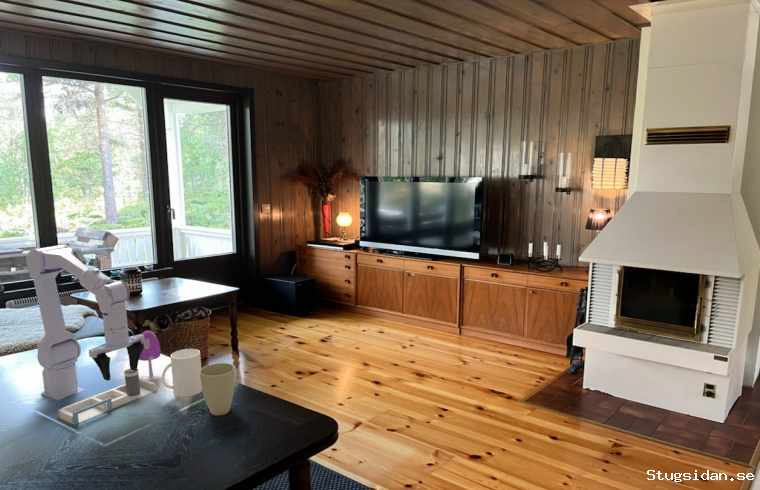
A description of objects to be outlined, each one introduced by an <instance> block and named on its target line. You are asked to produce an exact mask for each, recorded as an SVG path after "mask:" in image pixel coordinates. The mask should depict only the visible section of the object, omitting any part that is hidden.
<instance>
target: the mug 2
mask: <svg viewBox="0 0 760 490" xmlns="http://www.w3.org/2000/svg"><path fill="white" fill-rule="evenodd" d="M235 371H236V369H235V366H234V364H232V363H228V362H218V363H217V362H215V363H212V364H207V365H206V366H203V367H201V370H200V379H201V385H202V395H203V398H204V401H205V403H206V405H207V407H208V409H209V413H210V414H211V415H213V416H224V415H226V414H228V413H229V412H230V410H231V406H232V402H233V397H234V394H235V393H234V392H235V377H236V376H235V375H236V374H235Z"/></svg>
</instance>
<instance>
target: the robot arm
mask: <svg viewBox="0 0 760 490" xmlns="http://www.w3.org/2000/svg"><path fill="white" fill-rule="evenodd" d="M25 259H26V260H25V261H26V266H27V270H28V274H29V278H30V279H32V280H33V284H34V289H35V294H36V297H37V302H38V306H39V311H40V315H41V319H42V320H41V322H42V326H43V329H44V330H43V331H44V334H45V335H44V336H43V337H42V338H41V339H40V340H39V342H38V343H37V344H36V345H37V354H36V355H37V356H36V358H37V361H38V364H39V365H40V366H41V367H42V368H43V369H42V380H43V388H44V389H43V390H44V391H42V392H41V393H40V394H41V395H42V396H45V397H49V398H51V399H53V400H55V401H56V400H57V401H59V400H62V399H65V398H66V397H70V396H72V395H75V394H77V393H80V392H82V391H85V389H84V388H81V387H79V384H78V376H77V366H76V363H77V362H78V358H80V356H81V353H82V347H81V344H80V342H78V339H77V335H76V334H75V333H73V332H72V331H71V332H70V331H68V330H67V328H66V323H65V318H64V315H63V309H62V304H61V299H60V295H59V291H58V285H57V282H56V277H57V276H58V275H59V274H60V273H61V272H63V271H65V272H68V273H69V274H71V275H72V276H74V277H76V278H78V279H79V284H80V285H81V286H82V288H84V289H86V290H87V291H89V293H92V294H93V295H94V296H95V300H96V303H97V304H98V306H99V311H100V312H101V313H102V321H103V322H102V323H103V330H104V343H102V344H100V345H97V346H96V347H94V348H90V349H88V354H89V355H88V357H89V358H91V359H92V360H93V362H95V364H96V365H97V367H98V368H99V371H100V373H101V375H102V378H103V380H105V381H111V372H110V367H111V366H110V364H111V357H110V356H108V354H107V353H111V352H113V351H114V352H115V351H117V350H121V349H125V348H126V352H127V356H128V364H129V369H131V370H134V371H136V370H137V369H138V366H139V361H140V360H139V357H140V355H141V352H142V350H143V348H144V345H143V344H141V343H143V342H145V339H144V335H141V334H142V333H140V334H136V335H132V336H129V325H128V316H127V305H126V304H127V303H126V301H128V300H129V298H130V288H129V286H128V284H127V283H126V282H125V281H124V280H116V279H112V278H111V277H109V276H108V275H106V274H105V273H103V272H102V271H100V269H99V268H97V267H96V268H95V267H92V268H91V267H90V268H89V267H87V265H85V264H84V263H83V262H82V261H81V260H80V259H78V258H77V257H76V255H75V254H74V249H73V248H71V247H70V246H69V245H68V244H65V243H62V244H61V243H60V244H59V245H58V244H57V245H53V246H46V247H40V248H31V249H30V250H29V251H28V253H27V255H26V257H25Z"/></svg>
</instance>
